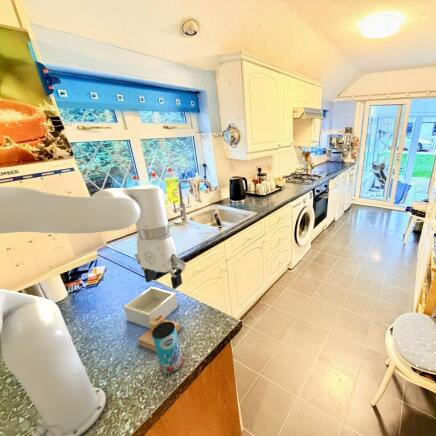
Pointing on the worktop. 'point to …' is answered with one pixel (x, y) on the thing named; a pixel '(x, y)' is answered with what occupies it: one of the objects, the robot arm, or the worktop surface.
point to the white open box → (150, 306)
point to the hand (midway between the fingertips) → (164, 282)
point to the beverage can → (167, 347)
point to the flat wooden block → (147, 337)
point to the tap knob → (156, 321)
